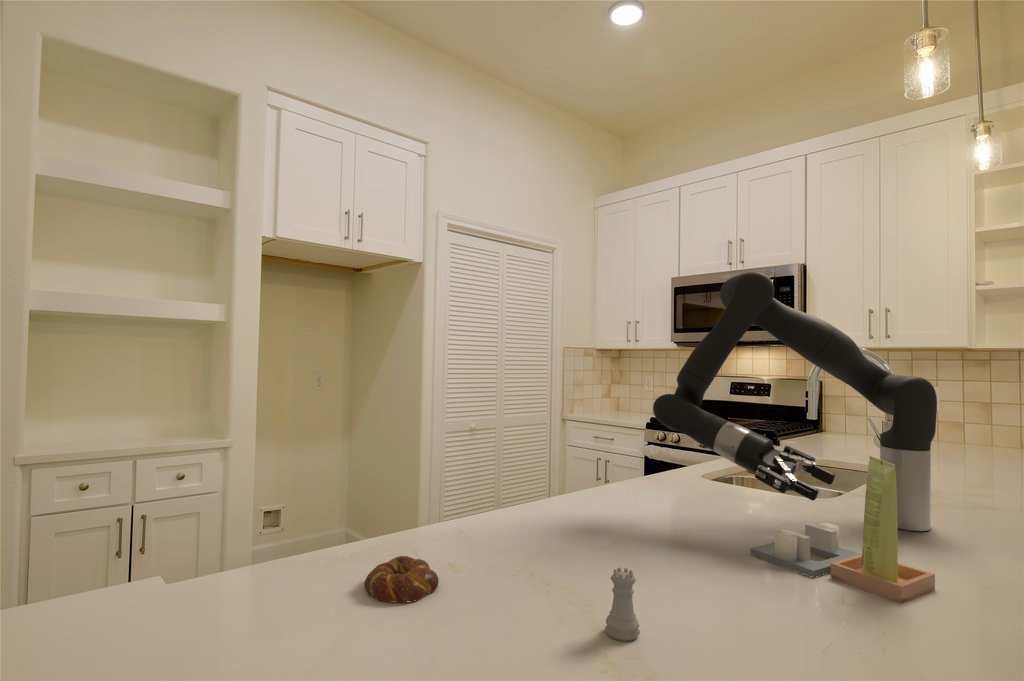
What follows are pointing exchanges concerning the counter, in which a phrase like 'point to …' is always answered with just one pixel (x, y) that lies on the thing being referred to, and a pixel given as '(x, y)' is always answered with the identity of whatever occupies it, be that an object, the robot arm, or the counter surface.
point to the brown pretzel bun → (401, 580)
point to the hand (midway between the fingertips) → (825, 487)
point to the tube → (880, 522)
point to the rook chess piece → (622, 608)
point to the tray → (905, 589)
